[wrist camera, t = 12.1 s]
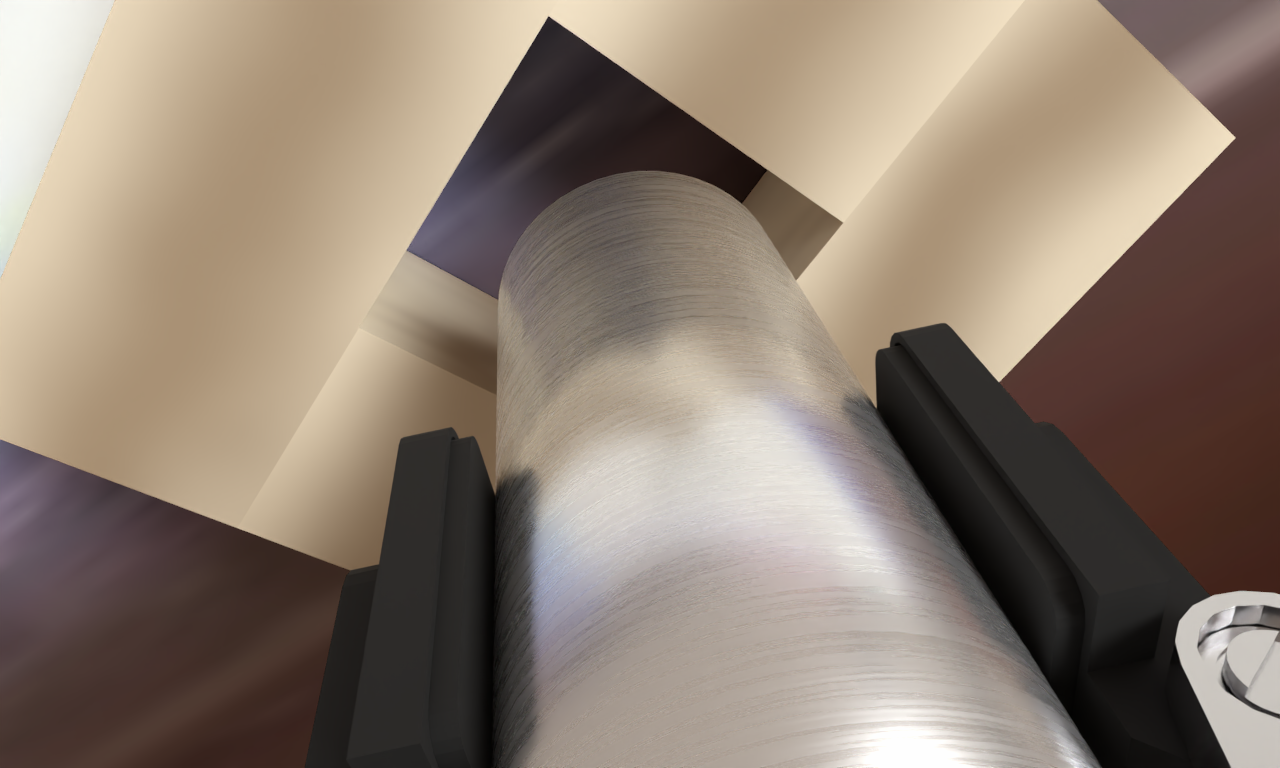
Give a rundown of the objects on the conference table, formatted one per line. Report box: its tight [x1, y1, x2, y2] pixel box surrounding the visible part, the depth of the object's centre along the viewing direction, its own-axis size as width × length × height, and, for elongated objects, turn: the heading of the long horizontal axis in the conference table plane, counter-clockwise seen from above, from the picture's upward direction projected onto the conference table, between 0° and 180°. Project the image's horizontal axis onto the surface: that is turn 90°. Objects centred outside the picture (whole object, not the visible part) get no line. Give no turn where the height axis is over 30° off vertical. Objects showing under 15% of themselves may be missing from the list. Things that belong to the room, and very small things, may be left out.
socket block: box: [0, 0, 1235, 571], centre depth 17 cm, size 16×16×4 cm
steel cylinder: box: [492, 171, 1102, 768], centre depth 9 cm, size 4×4×12 cm
